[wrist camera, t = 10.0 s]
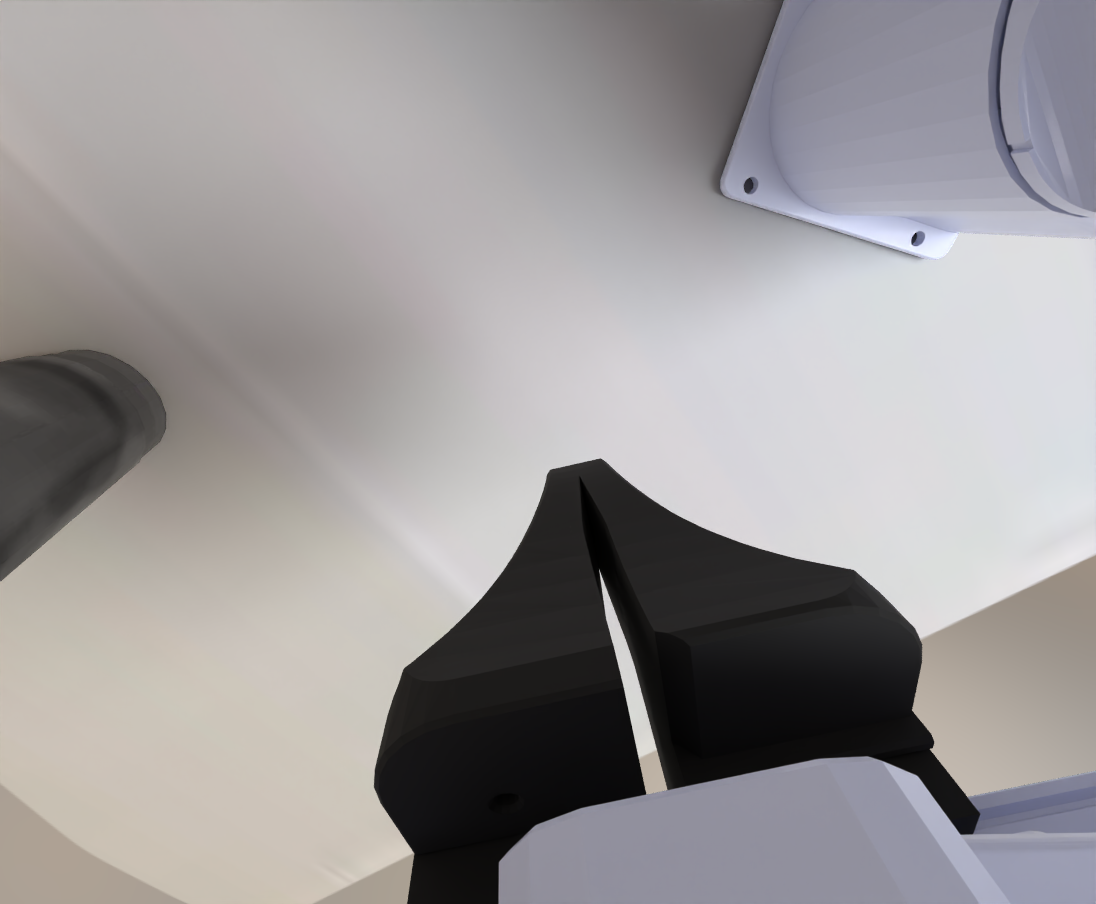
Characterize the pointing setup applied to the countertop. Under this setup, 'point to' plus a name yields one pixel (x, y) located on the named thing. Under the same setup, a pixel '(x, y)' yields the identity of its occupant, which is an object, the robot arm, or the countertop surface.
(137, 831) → the countertop surface
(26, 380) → the beverage cup
